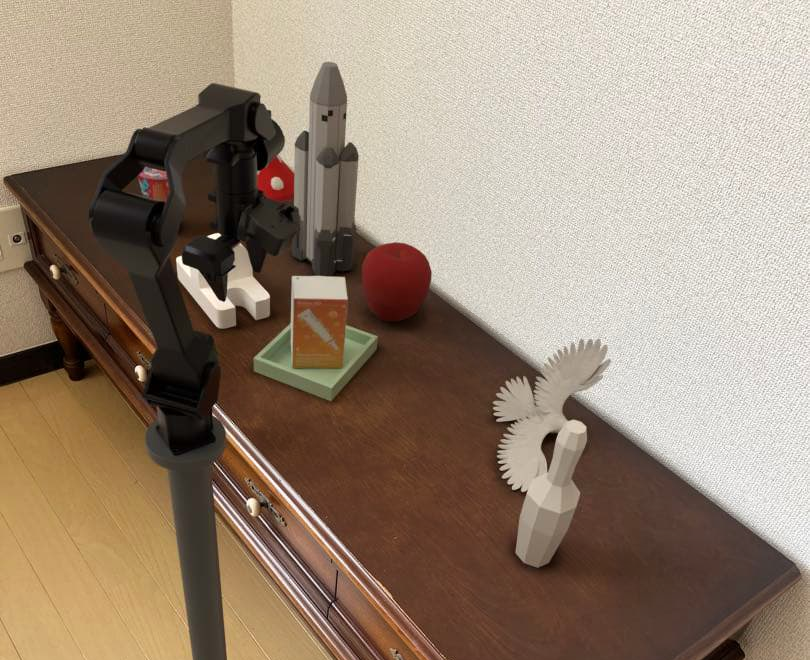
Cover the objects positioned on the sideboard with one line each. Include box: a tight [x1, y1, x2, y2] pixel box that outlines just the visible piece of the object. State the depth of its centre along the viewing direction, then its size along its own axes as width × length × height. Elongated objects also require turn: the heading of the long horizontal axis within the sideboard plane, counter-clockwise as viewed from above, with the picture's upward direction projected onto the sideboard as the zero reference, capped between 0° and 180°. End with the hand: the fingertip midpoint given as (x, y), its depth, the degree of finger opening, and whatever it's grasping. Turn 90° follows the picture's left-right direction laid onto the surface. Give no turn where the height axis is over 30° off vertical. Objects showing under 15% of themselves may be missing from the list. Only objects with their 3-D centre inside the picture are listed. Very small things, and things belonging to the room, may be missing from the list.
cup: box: [137, 167, 183, 231], centre depth 150 cm, size 9×8×12 cm
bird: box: [492, 338, 612, 493], centre depth 120 cm, size 21×16×15 cm
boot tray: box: [253, 322, 379, 402], centre depth 130 cm, size 16×14×3 cm
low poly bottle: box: [515, 419, 588, 569], centre depth 99 cm, size 6×6×22 cm
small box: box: [290, 275, 349, 368], centre depth 126 cm, size 8×6×13 cm
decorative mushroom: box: [257, 153, 294, 203], centre depth 156 cm, size 14×14×15 cm
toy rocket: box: [291, 61, 360, 277], centre depth 140 cm, size 12×9×35 cm
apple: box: [361, 241, 433, 323], centre depth 137 cm, size 12×12×13 cm
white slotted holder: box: [175, 232, 271, 330], centre depth 137 cm, size 10×18×11 cm, turn 34°
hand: (239, 285), depth 120 cm, fingers open, 9 cm apart
